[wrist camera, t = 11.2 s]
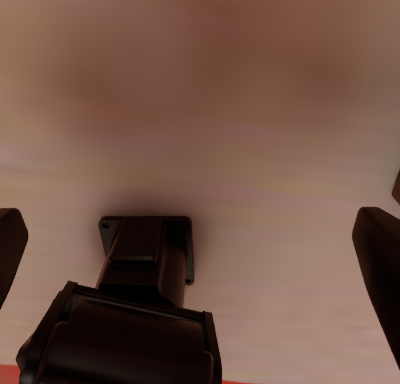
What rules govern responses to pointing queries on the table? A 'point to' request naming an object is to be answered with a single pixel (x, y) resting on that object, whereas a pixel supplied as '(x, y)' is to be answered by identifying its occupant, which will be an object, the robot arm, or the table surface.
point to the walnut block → (397, 190)
